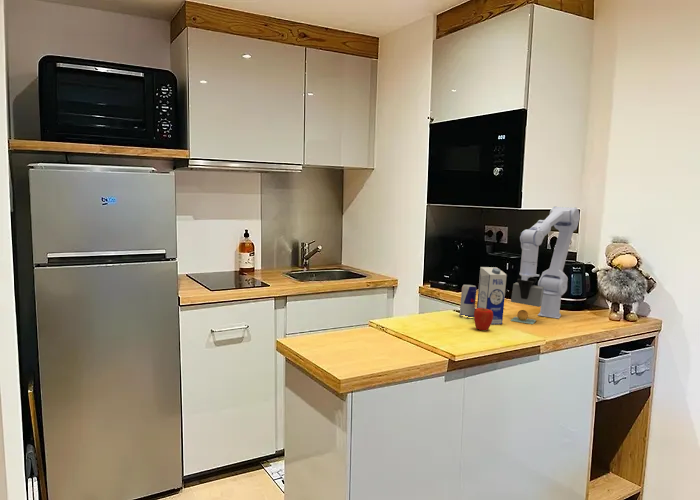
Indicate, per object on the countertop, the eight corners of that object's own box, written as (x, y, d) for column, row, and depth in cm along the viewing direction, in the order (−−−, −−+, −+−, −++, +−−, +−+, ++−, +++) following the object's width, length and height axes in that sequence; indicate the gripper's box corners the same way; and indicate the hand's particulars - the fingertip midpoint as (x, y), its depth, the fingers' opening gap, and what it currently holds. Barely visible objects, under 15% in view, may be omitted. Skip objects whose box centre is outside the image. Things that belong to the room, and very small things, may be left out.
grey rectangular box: (513, 299, 201) (516, 282, 200) (541, 304, 196) (544, 287, 195) (510, 301, 196) (513, 283, 195) (539, 306, 191) (541, 288, 190)
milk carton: (491, 320, 194) (496, 266, 192) (502, 324, 188) (507, 269, 186) (475, 320, 192) (480, 266, 190) (485, 324, 185) (490, 268, 184)
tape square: (514, 317, 202) (514, 316, 202) (536, 320, 198) (536, 320, 198) (510, 320, 195) (510, 320, 195) (532, 324, 191) (533, 323, 191)
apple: (493, 329, 178) (495, 308, 178) (490, 333, 173) (492, 310, 172) (474, 326, 181) (476, 305, 180) (471, 330, 175) (472, 308, 175)
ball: (526, 307, 198) (530, 317, 197) (516, 311, 199) (520, 321, 199) (524, 309, 194) (529, 319, 194) (514, 313, 196) (519, 322, 195)
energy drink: (474, 319, 193) (477, 287, 192) (459, 317, 194) (462, 286, 193) (473, 316, 199) (476, 285, 198) (459, 314, 200) (462, 284, 199)
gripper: (537, 264, 186) (533, 301, 188) (543, 261, 199) (539, 296, 200) (517, 262, 190) (513, 299, 191) (524, 259, 202) (520, 294, 204)
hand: (525, 297), depth 196 cm, fingers closed on grey rectangular box, 6 cm apart
